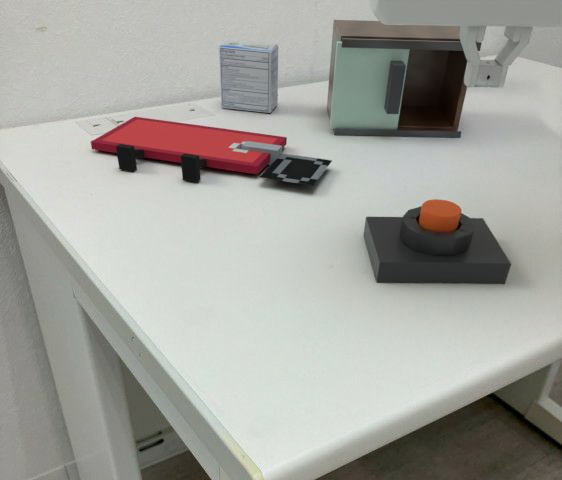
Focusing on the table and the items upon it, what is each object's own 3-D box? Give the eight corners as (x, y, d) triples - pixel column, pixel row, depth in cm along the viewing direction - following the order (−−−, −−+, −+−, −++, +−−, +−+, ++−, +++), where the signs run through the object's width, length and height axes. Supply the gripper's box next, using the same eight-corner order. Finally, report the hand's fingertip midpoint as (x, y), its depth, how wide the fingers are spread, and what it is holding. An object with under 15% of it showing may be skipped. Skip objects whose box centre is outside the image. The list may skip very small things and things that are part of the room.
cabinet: (441, 110, 93) (458, 23, 85) (460, 137, 84) (481, 42, 76) (326, 108, 92) (333, 19, 84) (334, 135, 83) (342, 38, 75)
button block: (477, 237, 61) (487, 201, 59) (504, 284, 55) (517, 245, 52) (363, 236, 61) (368, 199, 58) (376, 283, 54) (382, 244, 52)
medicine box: (278, 105, 92) (279, 43, 86) (270, 114, 89) (271, 50, 83) (229, 100, 93) (228, 38, 88) (220, 108, 90) (218, 45, 84)
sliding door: (396, 128, 84) (409, 43, 77) (400, 136, 82) (414, 49, 75) (329, 126, 84) (336, 41, 77) (331, 134, 81) (339, 47, 74)
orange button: (451, 216, 57) (456, 199, 56) (461, 234, 54) (466, 216, 53) (415, 216, 57) (418, 198, 56) (422, 234, 54) (426, 216, 53)
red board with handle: (308, 199, 66) (340, 155, 77) (309, 175, 64) (342, 133, 75) (75, 162, 73) (136, 127, 84) (71, 139, 71) (133, 106, 82)
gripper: (656, -129, 43) (588, 76, 52) (379, -135, 42) (358, 74, 52) (705, -126, 38) (621, 98, 48) (394, -134, 38) (369, 96, 47)
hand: (482, 85), depth 50 cm, fingers closed
